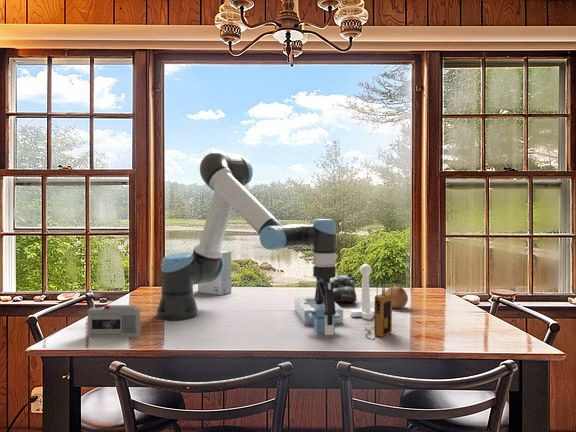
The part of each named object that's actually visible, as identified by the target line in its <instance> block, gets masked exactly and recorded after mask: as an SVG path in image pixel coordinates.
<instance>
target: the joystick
mask: <svg viewBox="0 0 576 432" xmlns="http://www.w3.org/2000/svg"><path fill="white" fill-rule="evenodd" d="M359 272H360V274H361V276H362V280H361V281H362V283H361V298H360V308H357V309H356V308H355V309H350V317H354V318H355V317H361V318H362V319H363V320H372V319H373V318H374V308H371V297H370V296H371V295H370V274H372V272H373V271H372V266H371V265H369V264H368V263H364V264H362V265H360V267H359Z"/></svg>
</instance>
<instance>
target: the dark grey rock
mask: <svg viewBox="0 0 576 432" xmlns="http://www.w3.org/2000/svg"><path fill="white" fill-rule="evenodd" d="M330 283H333V293H334V302H335V303H337V302H338V303H339V302H347V303H355V302H357V294H356V290H355V289H356V288H355V287H356V277H355V276H352V274H351V273H349V274H347V275H345V274H343V275H336V276H335V277H334V278H332V280H330Z"/></svg>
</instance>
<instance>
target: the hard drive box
mask: <svg viewBox="0 0 576 432" xmlns="http://www.w3.org/2000/svg"><path fill="white" fill-rule="evenodd" d="M220 251H221V253H222V258H223V263H224V270H223V273H222V275H221V276H220V277H219V278H218V279H216V280H213V281H211V282H207V283H206V282H205V283H200V284H197V292H198V293H203V294H209V295H210V294H212V295H216V296H217V295H219V296H224V295H226V294H231V293H232V251H225V250H220Z"/></svg>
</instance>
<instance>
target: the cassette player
mask: <svg viewBox="0 0 576 432" xmlns="http://www.w3.org/2000/svg"><path fill="white" fill-rule="evenodd" d="M87 322H88V323H87V324H88V325H87V329H88V330H87V332H88V335H87V338H93V339H94V338H95V339H96V338H99V339H100V338H105V339H107V338H139V337H140V336H141V334H142V333H141V330H142V329H141V328H142V327H141V307H137V305H136V304H113V305H111V304H109V305H107V304H106V305H104V306H103V307H91V308H89V309H87Z"/></svg>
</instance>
